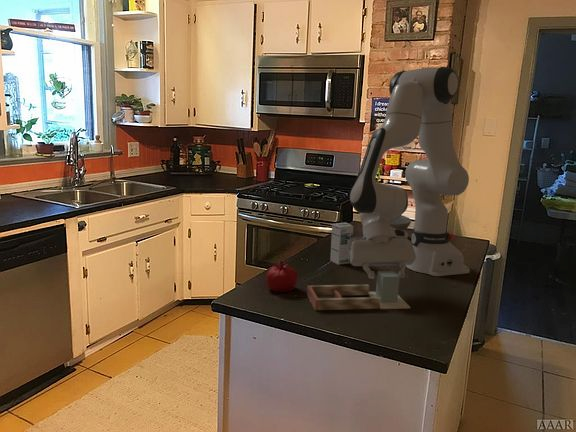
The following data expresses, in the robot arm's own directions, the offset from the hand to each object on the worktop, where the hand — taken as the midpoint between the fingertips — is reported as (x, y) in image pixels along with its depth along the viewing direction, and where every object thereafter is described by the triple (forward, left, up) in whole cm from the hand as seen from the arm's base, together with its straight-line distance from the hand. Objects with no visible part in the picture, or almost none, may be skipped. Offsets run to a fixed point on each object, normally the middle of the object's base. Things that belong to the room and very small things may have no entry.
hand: (387, 277), depth 144 cm
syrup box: (+4, -36, -7) cm, 37 cm away
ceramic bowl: (-24, -67, -7) cm, 71 cm away
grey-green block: (0, +1, -6) cm, 7 cm away
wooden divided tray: (+13, +1, -7) cm, 15 cm away
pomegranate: (+30, -10, -7) cm, 33 cm away
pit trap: (+19, +1, -7) cm, 20 cm away
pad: (0, +1, -7) cm, 7 cm away
